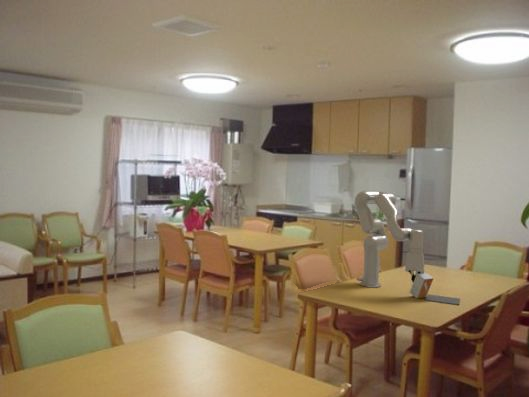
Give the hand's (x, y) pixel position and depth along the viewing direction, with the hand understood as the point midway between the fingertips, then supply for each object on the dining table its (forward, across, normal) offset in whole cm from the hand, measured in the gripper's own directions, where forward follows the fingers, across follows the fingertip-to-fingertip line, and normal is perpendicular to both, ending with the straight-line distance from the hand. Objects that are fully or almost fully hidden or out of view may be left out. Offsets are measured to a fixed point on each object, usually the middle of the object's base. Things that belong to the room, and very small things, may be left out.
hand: (414, 282), depth 287 cm
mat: (+8, +16, 0) cm, 18 cm away
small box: (+8, +2, 0) cm, 8 cm away
